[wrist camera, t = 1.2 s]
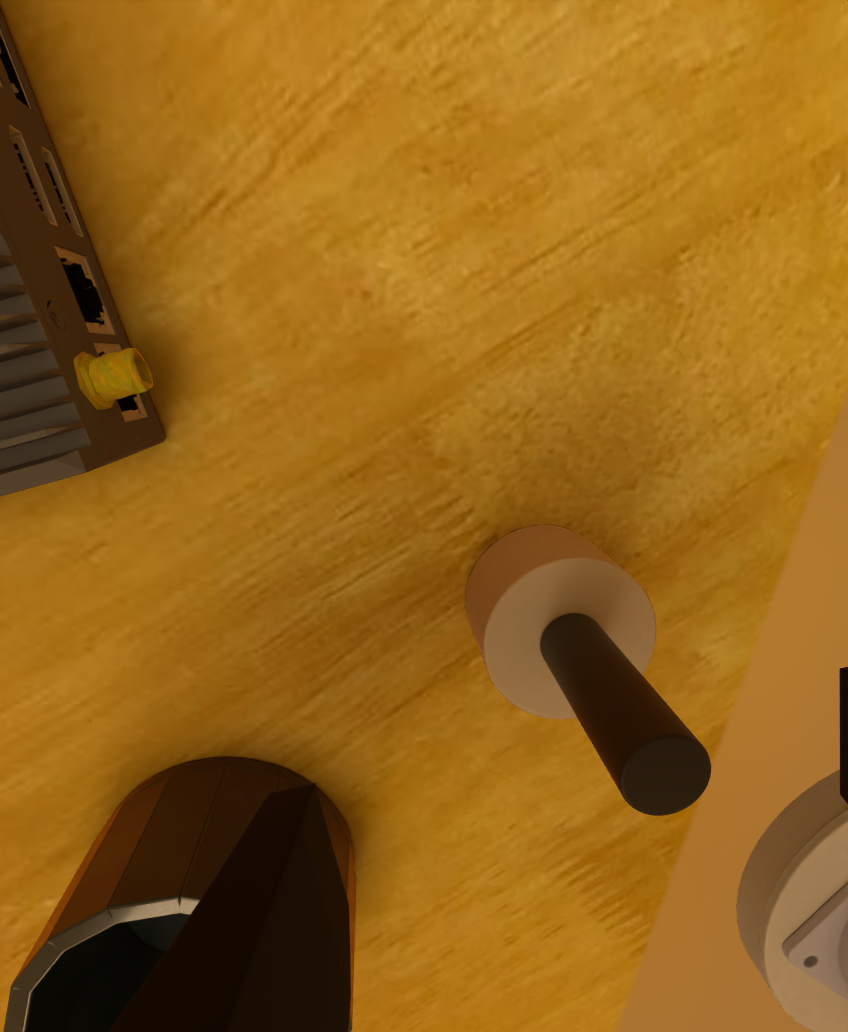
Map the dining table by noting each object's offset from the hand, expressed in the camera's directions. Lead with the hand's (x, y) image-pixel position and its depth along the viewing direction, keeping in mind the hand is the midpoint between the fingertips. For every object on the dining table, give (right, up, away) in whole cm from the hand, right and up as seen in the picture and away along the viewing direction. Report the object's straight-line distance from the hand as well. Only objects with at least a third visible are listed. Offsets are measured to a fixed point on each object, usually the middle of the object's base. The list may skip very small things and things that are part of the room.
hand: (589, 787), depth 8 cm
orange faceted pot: (-8, -8, +11) cm, 16 cm away
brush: (+1, +1, +10) cm, 10 cm away
